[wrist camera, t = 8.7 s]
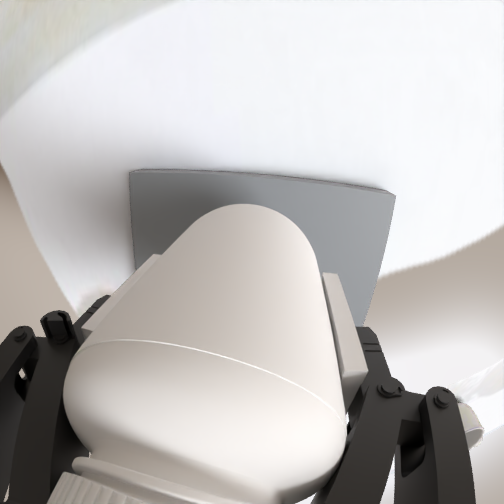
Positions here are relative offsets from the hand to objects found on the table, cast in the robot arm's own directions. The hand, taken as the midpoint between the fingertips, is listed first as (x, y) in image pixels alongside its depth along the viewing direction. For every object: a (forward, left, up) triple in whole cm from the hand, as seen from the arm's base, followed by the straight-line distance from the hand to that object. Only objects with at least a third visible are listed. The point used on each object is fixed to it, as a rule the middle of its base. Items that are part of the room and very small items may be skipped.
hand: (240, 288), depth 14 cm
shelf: (+2, 0, -9) cm, 9 cm away
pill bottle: (0, 0, -2) cm, 2 cm away
